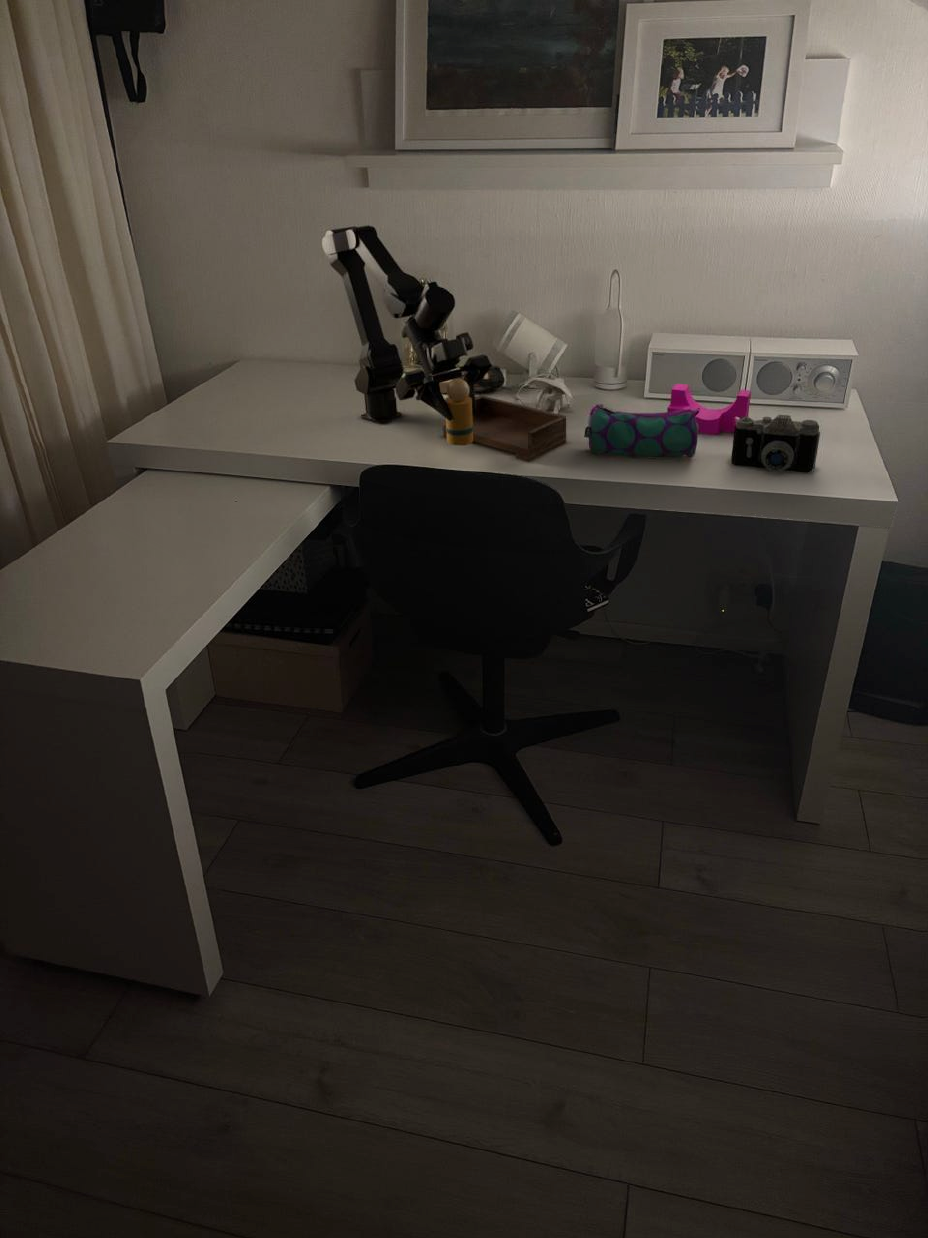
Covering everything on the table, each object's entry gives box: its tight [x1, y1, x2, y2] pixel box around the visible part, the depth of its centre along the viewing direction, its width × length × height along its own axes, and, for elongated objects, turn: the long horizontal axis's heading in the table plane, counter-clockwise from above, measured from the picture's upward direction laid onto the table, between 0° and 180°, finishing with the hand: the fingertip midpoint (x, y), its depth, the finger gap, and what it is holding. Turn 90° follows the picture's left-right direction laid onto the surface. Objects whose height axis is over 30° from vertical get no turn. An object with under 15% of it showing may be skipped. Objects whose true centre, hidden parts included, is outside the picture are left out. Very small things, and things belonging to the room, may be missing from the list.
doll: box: [444, 379, 474, 446], centre depth 181 cm, size 5×5×12 cm
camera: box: [730, 414, 821, 474], centre depth 175 cm, size 15×7×10 cm, turn 69°
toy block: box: [666, 383, 752, 436], centre depth 194 cm, size 15×6×8 cm, turn 66°
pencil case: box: [583, 403, 700, 459], centre depth 183 cm, size 21×9×10 cm, turn 78°
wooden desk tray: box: [442, 394, 568, 463], centre depth 193 cm, size 22×12×6 cm, turn 48°
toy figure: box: [439, 364, 506, 395], centre depth 220 cm, size 7×6×15 cm
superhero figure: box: [524, 377, 573, 414], centre depth 206 cm, size 10×9×20 cm
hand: (462, 416), depth 181 cm, fingers closed on doll, 5 cm apart
